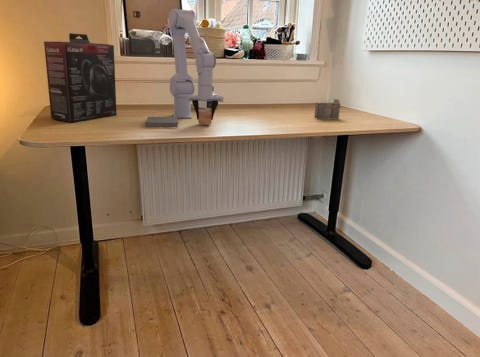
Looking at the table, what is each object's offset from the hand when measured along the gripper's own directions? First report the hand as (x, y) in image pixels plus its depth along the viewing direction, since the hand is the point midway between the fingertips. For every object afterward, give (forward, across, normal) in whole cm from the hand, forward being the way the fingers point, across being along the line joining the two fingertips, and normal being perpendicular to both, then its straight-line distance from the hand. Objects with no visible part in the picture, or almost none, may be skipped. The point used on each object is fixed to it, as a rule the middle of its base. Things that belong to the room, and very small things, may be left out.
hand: (204, 119), depth 156 cm
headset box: (+3, -49, +13) cm, 51 cm away
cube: (+1, 0, 0) cm, 1 cm away
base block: (+3, -17, 0) cm, 17 cm away
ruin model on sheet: (+3, +59, +20) cm, 62 cm away
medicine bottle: (+3, +4, +44) cm, 44 cm away
